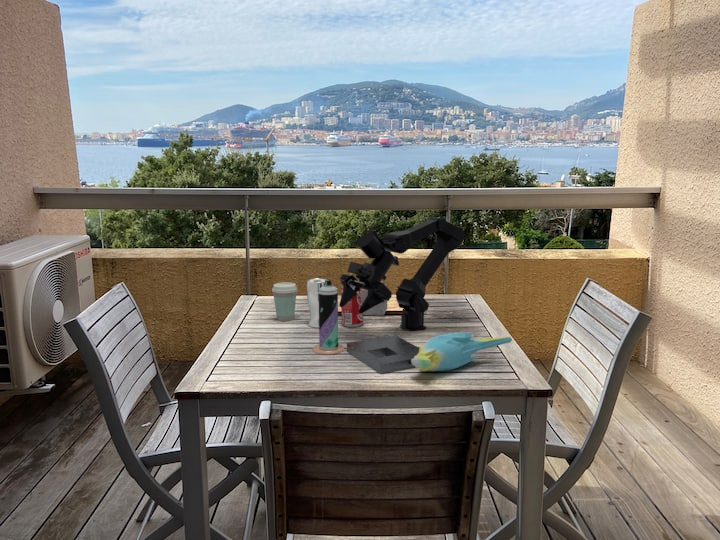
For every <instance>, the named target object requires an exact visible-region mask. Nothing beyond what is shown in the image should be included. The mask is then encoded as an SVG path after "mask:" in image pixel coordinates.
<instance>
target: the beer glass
mask: <svg viewBox="0 0 720 540" xmlns="http://www.w3.org/2000/svg"><path fill="white" fill-rule="evenodd" d="M325 280H327V279H326V278H319V277H317V278H310V279H308V280H307V284H306V298H307V304H308V308H309V309H308V310H309V322H308V323H309V324H308V326H309V327H311V328H318V329H319V288H321V287H322V286H323V285H324V284H325Z"/></svg>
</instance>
